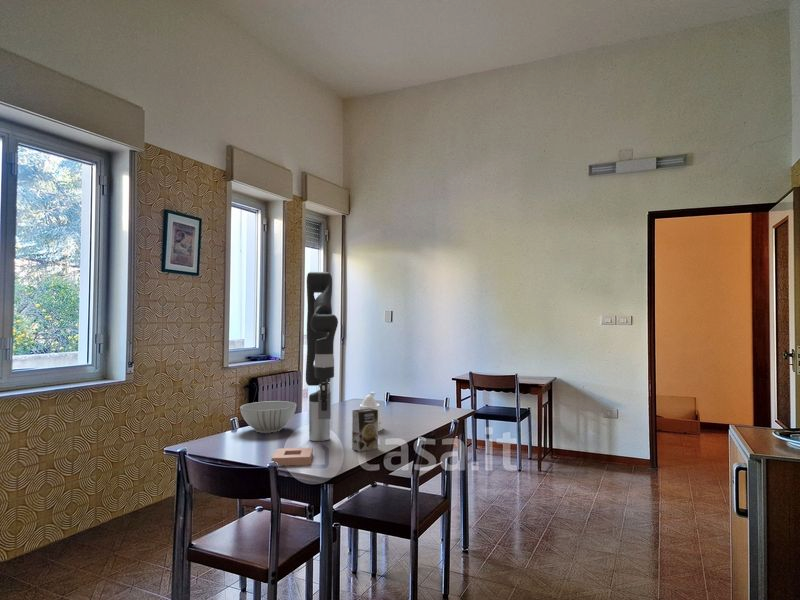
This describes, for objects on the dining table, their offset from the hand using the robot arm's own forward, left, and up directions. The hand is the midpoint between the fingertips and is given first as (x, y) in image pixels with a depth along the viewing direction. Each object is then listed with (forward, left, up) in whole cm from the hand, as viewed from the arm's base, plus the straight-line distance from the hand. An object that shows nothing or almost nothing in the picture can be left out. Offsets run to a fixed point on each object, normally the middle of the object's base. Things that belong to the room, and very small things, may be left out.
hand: (324, 409), depth 200 cm
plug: (0, 0, -3) cm, 3 cm away
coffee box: (-12, +16, -19) cm, 28 cm away
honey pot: (-50, +19, -19) cm, 57 cm away
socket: (+2, -12, -19) cm, 22 cm away
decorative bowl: (-54, -30, -19) cm, 65 cm away
